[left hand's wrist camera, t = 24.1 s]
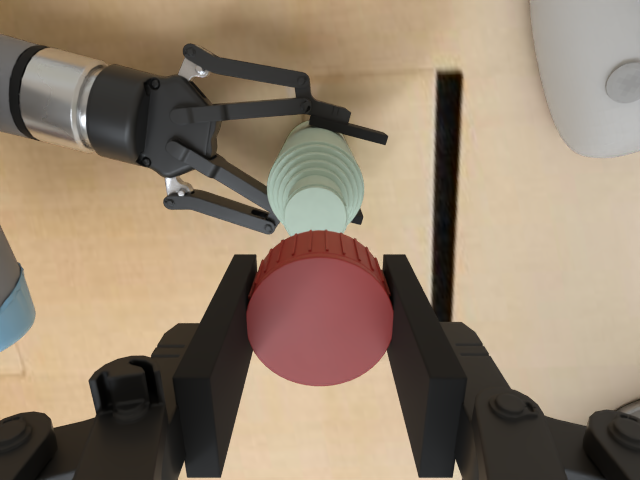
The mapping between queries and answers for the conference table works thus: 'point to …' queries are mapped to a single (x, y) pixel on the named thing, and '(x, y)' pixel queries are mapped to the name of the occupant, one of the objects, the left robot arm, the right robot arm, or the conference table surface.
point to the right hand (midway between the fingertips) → (371, 178)
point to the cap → (319, 309)
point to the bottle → (315, 181)
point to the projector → (591, 72)
